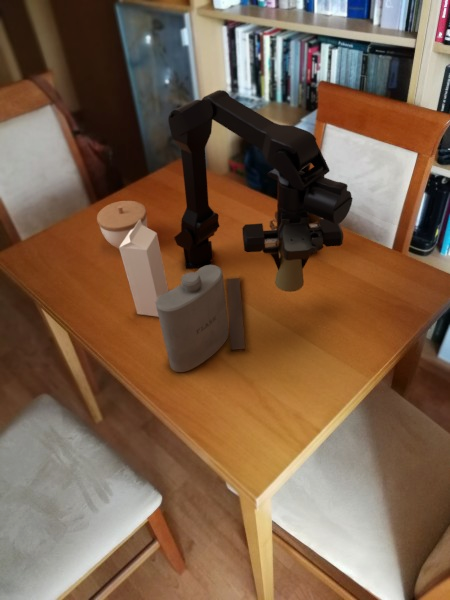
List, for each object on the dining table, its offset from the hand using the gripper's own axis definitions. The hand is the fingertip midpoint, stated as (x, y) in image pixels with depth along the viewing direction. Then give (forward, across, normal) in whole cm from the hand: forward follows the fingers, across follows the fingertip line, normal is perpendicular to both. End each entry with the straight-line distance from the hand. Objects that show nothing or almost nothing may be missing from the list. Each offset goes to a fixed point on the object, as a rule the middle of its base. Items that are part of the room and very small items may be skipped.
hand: (290, 268), depth 97 cm
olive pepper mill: (+4, 0, 0) cm, 4 cm away
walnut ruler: (+12, -12, 0) cm, 17 cm away
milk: (+12, -30, +4) cm, 33 cm away
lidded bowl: (+12, -39, +30) cm, 51 cm away
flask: (+12, -19, -10) cm, 25 cm away
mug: (+12, +8, +20) cm, 25 cm away
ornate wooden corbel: (+12, 0, +20) cm, 24 cm away
